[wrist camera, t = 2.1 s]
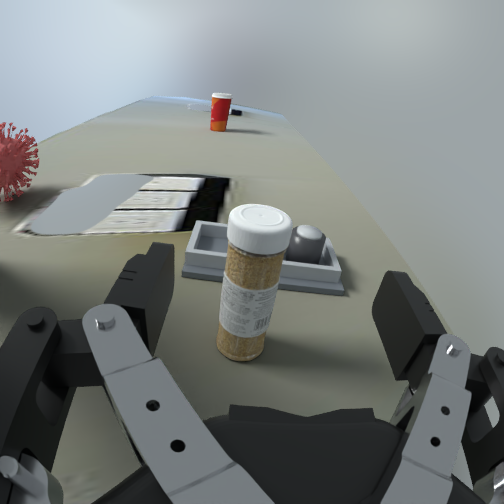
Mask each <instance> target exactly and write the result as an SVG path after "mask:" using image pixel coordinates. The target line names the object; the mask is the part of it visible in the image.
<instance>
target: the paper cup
mask: <svg viewBox="0 0 504 504" xmlns="http://www.w3.org/2000/svg"><path fill="white" fill-rule="evenodd" d="M231 99H232V95H231V94H224V93H213V95H212V108H211V130H212V131H219V132H223V131H225V130H226V125H227V120H228V115H229V110H230V104H231Z"/></svg>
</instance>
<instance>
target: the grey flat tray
mask: <svg viewBox="0 0 504 504" xmlns="http://www.w3.org/2000/svg"><path fill="white" fill-rule="evenodd" d="M227 228H228V224H221V223H213V222H205V221H196V224H195V227H194V229H193V232H192V235H191V238H190V240H189V243H188V246H187V249H186V252H185V264H184V267H183V270H182V277H188V278H195V279H203V280H211V281H218V282H223V277H224V271H225V266H226V259H227V251H228V237H227ZM341 272H342V271H341V268H340V265H339V262H338V260H337V257H336V254H335V252H334V249H333V246H332V244H331V241H330V239H329V238H326V237H325V235H324V234H323V233H322V232H321V231H320V230H319V229H318V228H316V227H313V226H309V225H301V226H298V227H295V228H293V230H292V233H291V237H290V242H289V245H288V247H287V249H286V252H285V253H284V257H283V262H282V267H281V271H280V280H279V284H278V289H284V290H293V291H302V292H312V293H321V294H331V295H341V296H343V293H344V288H343V285H342V282H341V279H340V275H341Z"/></svg>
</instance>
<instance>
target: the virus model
mask: <svg viewBox="0 0 504 504" xmlns="http://www.w3.org/2000/svg"><path fill="white" fill-rule="evenodd" d="M5 124H6V123H2V124H0V193H1V189H2V187H3V188H4V194H5V191H6V195H7V198H6V196H5V200H4V202H5V201H6V202H8V201H9V200H10V201H11V200H13V198H12V197H11V198H9V196H8V192H11V189H12V187H11V189H10V188H9V185H11V184H12V185H13V187H14V189H15V191H16V195H18V197H19V196H20V195H21V194H23V193H24V192H23V191H21V190H20V189H19V190H18V191H17V189H18V188H19V187H20V186H21V188H22V187H23V186H25V185H26V184H27V188H28V187H29V186H30V184H29V183H26V182H29V180H30V181H31V180H32V179H29V178H28V177H26V176H25V175H24V174H23V173H22V172H23V171H24V172H27V173H28V174H29V175H30V173H31V174H34V175H35V176H36V173H37V172H32V171H30V170H29V168H27V169H26V168H25V166H31V167H32V166H33V167H34V168H35V169H36V167H37V168H38V165H39V158H38V159H37V160H34V161H32V160H30V159H29V158H32V157H29V156H31V155H36V156H34V157H36V158H37V157H38V156H37V152H38V149H37V148H36V149H35V150H34V151H33V152H34V153H33V152H32V151H31V152H26V151H27V150H29V149H30V148H31V147H33V146H37V143H35V144H34V145H33V146H31V147H30V148H28V147H29V146H30V145H32V144H33V142H34V141H35V139H34V137H32V138H30V137H29V136H27V135H23V136H24V139H25V138H26V139H25V140H24V141H23V142H22V141H21V140H22V138H23V136H22V135H21V136H20V138H19V139H18V137H19V135H20V133H21V132H23V130H21V131H20V133H19V135H18V134H16V137H15V139H13V138H11V137H9V134H10V129H9V128H8V137H7V138H5V135H4V131H3V134H2V131H1V130H2V129H3V128H4V127H5ZM9 125H10V127H11V125H12V123H10V124H9ZM15 129H16V127H14V126H13V127H12V131H14V130H15ZM26 132H28V130H27V128H26V129H25V133H26ZM17 139H18V140H17ZM30 140H31V141H30ZM29 141H30V142H29ZM26 143H27V144H26ZM25 152H26V153H25ZM31 153H33V154H31ZM26 157H27V158H26ZM26 159H29V160H26ZM32 162H33V163H32ZM33 164H36V165H35V166H34V165H33ZM29 172H30V173H29ZM24 177H26V178H25V179H24ZM23 179H24V180H23ZM17 180H18V181H19V182H20V184H21V185H20V186H18V185H17V184H18V182H17ZM12 195H15V194H14V193H13V191H12ZM10 196H11V195H10ZM6 199H7V200H6ZM0 202H1V199H0Z"/></svg>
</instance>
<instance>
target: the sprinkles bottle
mask: <svg viewBox="0 0 504 504" xmlns="http://www.w3.org/2000/svg"><path fill="white" fill-rule="evenodd" d="M292 226H293V224H292V220H291V218H290V217H289V216H288V215H287V214H286V213H284V212H283V211H281V210H279V209H276V208H274V207H270V206H266V205H260V204H246V205H241V206H238V207H236V208H234V209H233V210H232V211H231V213H230V215H229V221H228V228H227V237H228V251H227V259H226V266H225V271H224V277H223V286H222V294H221V304H220V314H219V320H220V322H219V331H218V335H217V340H216V342H217V347H218V349H219V350H220V351H221V353H222V354H223V355H225V356H226V357H228V358H230V359H232V360H236V361H249V360H252V359H254V358H256V357H257V356H259V355H260V354H261V352H262V350H263V348H264V339H265V334H266V330H267V328H268V326H269V322H270V318H271V314H272V310H273V306H274V302H275V297H276V293H277V289H278V284H279V280H280V271H281V267H282V262H283V257H284V253H285V252H286V249H287V247H288V245H289V242H290V237H291V232H292Z"/></svg>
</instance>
